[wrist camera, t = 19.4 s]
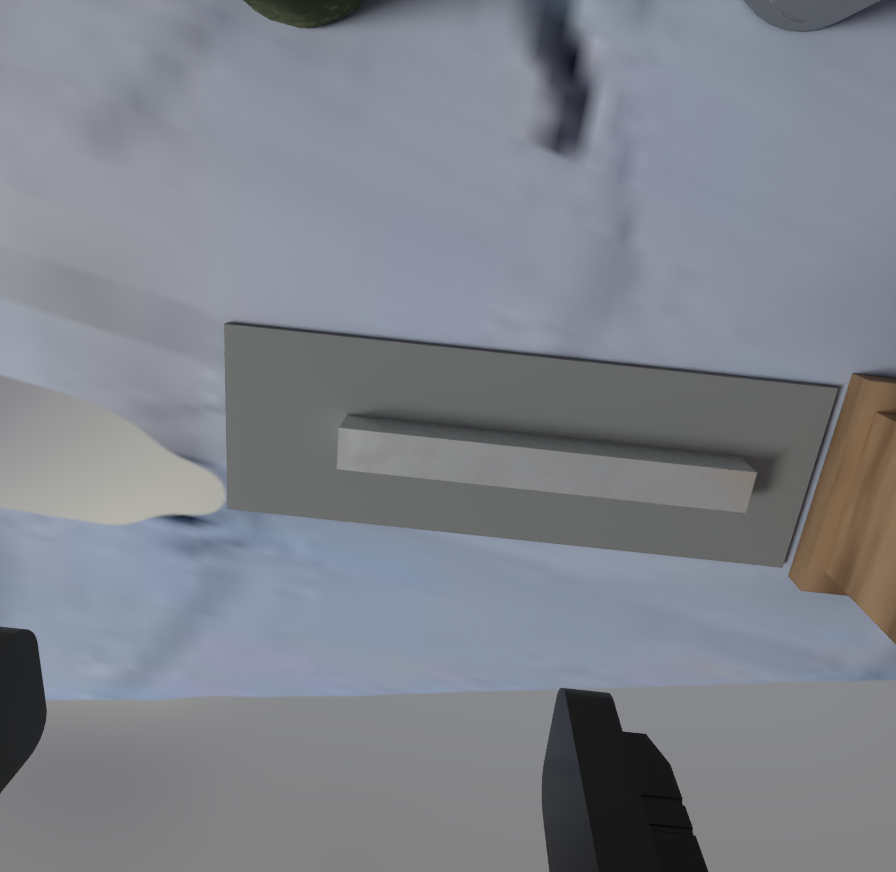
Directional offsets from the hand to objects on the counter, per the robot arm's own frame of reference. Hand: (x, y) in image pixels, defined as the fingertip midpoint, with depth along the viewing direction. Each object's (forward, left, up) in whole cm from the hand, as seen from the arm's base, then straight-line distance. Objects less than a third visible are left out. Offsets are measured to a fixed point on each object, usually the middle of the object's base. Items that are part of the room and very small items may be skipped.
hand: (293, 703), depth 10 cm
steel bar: (+3, +12, -36) cm, 38 cm away
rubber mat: (+4, +10, -36) cm, 38 cm away
